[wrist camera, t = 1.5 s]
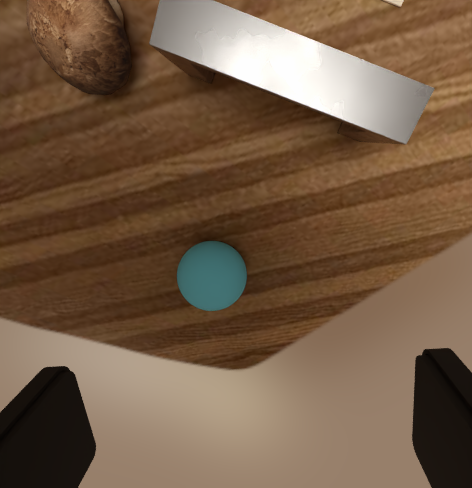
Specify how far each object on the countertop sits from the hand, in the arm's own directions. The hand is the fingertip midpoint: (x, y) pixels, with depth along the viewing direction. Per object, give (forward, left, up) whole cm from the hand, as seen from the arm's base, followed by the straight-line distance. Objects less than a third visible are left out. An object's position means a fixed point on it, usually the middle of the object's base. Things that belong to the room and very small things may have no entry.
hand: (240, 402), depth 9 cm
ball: (-2, -6, -19) cm, 20 cm away
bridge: (-2, +10, -22) cm, 25 cm away
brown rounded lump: (-17, +8, -23) cm, 30 cm away
